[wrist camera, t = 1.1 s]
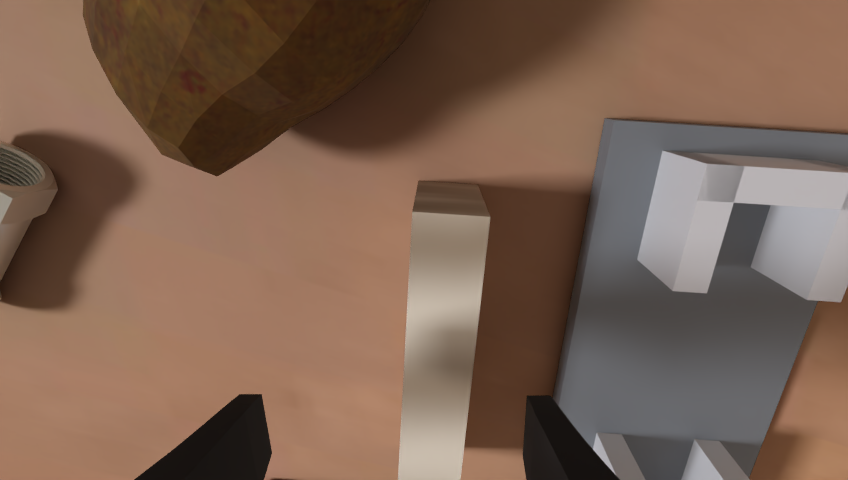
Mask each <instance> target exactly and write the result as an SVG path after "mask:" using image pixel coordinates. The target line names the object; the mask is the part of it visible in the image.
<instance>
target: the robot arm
mask: <svg viewBox="0 0 848 480" xmlns="http://www.w3.org/2000/svg"><path fill="white" fill-rule="evenodd" d="M271 454H272V451H271V445H270V439H269V434H268V428H267V422H266V417H265V411H264V406H263V400H262V394H240V395H238V396H237V397H236V398H235V399H233V400H232V401H231V402H230V403H228V404H227V405H226V406H225V407H224V408H222V409H221V410H220V411H219V412H218V413H217V414H215V415H214V416H213V417H212V418H211V419H209V420H208V421H207V422H206V423H205V424H204V425H202V426H201V427H200V428H199V429H198V430H196V431H195V432H194V433H193V434H192V435H190V436H189V437H188V438H187V439H186V440H184V441H183V442H182V443H181V444H180V445H178V446H177V447H176V448H175V449H173V450H172V451H171V452H170V453H168V454H167V455H166V456H164V457H163V458H162V459H161V460H159V461H158V462H157V463H155V464H154V465H153V466H151V467H150V468H149V469H148V470H146V471H145V472H144V473H142V474H141V475H140V476H138V477H137V478H136V479H134V480H264V477H265V474H266V471H267V467H268V464H269V461H270V458H271ZM523 460H524V466H525V473H526V479H527V480H620V479H619V478H618V477H617V476H616V475H615V474H614V473H613V472H612V470H611V469H610V468H609V467H608V466H607V465H606V464H605V463H604V462H603V460H602V459H601V458H600V457H599V456H598V455H597V453H596V452H595V451H594V450H593V449H592V448H591V446H590V445H589V444H588V443H587V442H586V441H585V439H584V438H583V437H582V436H581V434H580V433H579V432H578V431H577V429H576V428H575V427H574V426H573V424H572V423H571V422H570V420H569V419H568V418H567V417H566V415H565V414H564V413H563V411H562V410H561V409H560V407H559V406H558V405H557V403H556V402H555V400H554V399H553V398H552V397H551V396H527V402H526V416H525V431H524V445H523Z"/></svg>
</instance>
